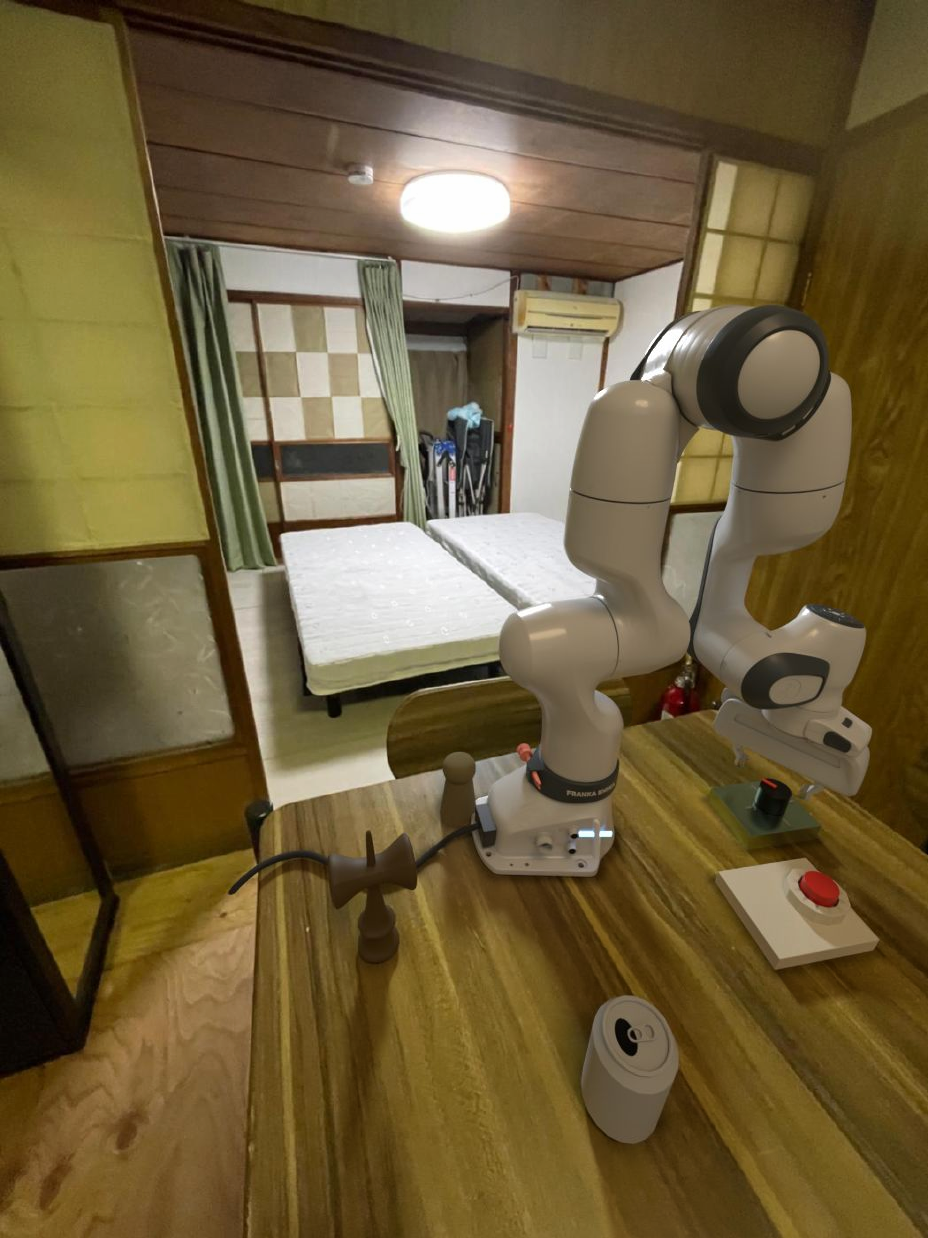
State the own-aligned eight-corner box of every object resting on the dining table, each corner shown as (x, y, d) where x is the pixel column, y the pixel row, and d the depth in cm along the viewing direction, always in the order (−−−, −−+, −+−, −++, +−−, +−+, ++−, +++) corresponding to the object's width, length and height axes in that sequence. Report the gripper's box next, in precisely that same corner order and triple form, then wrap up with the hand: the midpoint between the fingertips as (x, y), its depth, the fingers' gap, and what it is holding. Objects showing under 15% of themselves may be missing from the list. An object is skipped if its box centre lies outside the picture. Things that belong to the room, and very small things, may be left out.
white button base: (774, 970, 62) (784, 950, 60) (714, 882, 72) (721, 862, 71) (873, 950, 64) (885, 930, 62) (801, 867, 75) (809, 848, 73)
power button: (815, 909, 65) (820, 900, 64) (792, 881, 69) (796, 872, 68) (843, 904, 66) (847, 895, 65) (818, 877, 69) (822, 868, 68)
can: (571, 1055, 54) (584, 989, 49) (639, 1048, 55) (660, 983, 49) (593, 1152, 47) (611, 1089, 42) (671, 1144, 48) (699, 1080, 43)
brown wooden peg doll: (473, 829, 80) (475, 775, 76) (436, 823, 81) (435, 770, 76) (479, 800, 86) (481, 748, 81) (444, 795, 87) (444, 743, 82)
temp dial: (790, 807, 81) (797, 789, 79) (777, 820, 79) (784, 802, 77) (762, 790, 84) (768, 772, 83) (749, 802, 82) (755, 784, 80)
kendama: (422, 956, 63) (418, 841, 54) (342, 982, 60) (324, 865, 51) (411, 911, 68) (406, 800, 59) (337, 934, 65) (320, 820, 56)
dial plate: (746, 850, 77) (751, 835, 76) (707, 800, 86) (711, 786, 85) (815, 839, 79) (822, 825, 78) (770, 792, 88) (775, 778, 87)
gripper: (717, 687, 80) (697, 755, 86) (875, 755, 66) (838, 830, 73) (734, 672, 83) (713, 739, 90) (886, 734, 70) (850, 807, 77)
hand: (770, 780), depth 81 cm, fingers open, 8 cm apart
